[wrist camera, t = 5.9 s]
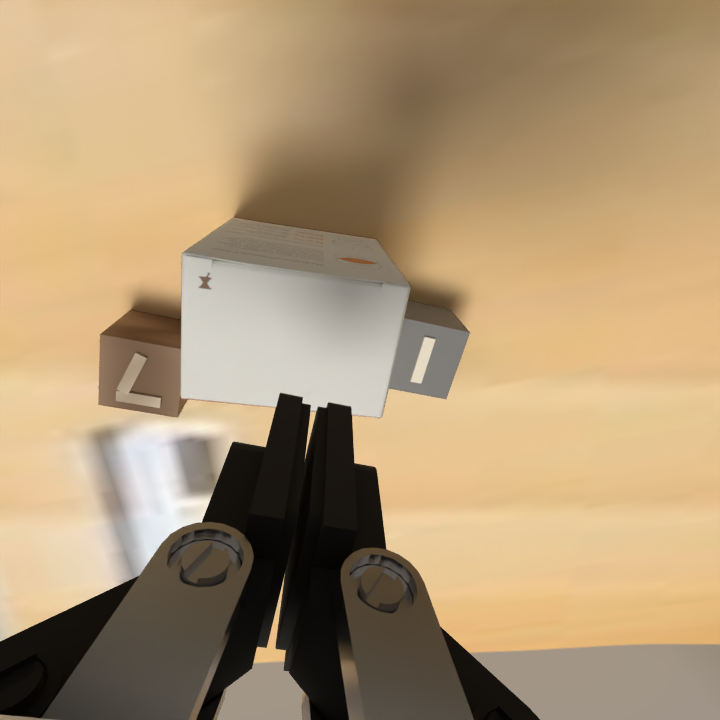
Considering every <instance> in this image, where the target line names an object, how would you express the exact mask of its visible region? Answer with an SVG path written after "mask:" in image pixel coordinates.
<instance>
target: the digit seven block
mask: <svg viewBox="0 0 720 720" xmlns="http://www.w3.org/2000/svg"><path fill="white" fill-rule="evenodd" d="M180 389H181V320H180V319H175V318H169V317H164V316H159V315H154V314H149V313H144V312H139V311H133V310H130V311H129V312H128V313H126V314H125V315H124V316H123V317H121V318H120V319H119V320H118V321H116V322H115V323H114V324H113V325H111V326H110V327H109V328H108V329H106V330H105V331H104V332H103V333H101V334H100V364H99V402H98V405H103V406H109V407H115V408H122V409H128V410H134V411H140V412H146V413H153V414H159V415H165V416H171V417H177V418H178V416H179V414H180V412H181V411H182V409H183V407H184V405H185V403H186V402H187V400H188V399H182V398H181V395H180Z"/></svg>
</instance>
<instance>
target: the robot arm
mask: <svg viewBox="0 0 720 720" xmlns="http://www.w3.org/2000/svg"><path fill="white" fill-rule="evenodd" d="M302 401H303V397H300V396H295V395H290V394H285V393H280V394H279V398H278V402H277V406H276V410H275V414H274V418H273V421H272V425H271V429H270V433H269V437H268V441H267V445H266V447H261V446H255V445H250V444H244V443H239V442H233V443H232V445H231V447H230V450H229V453H228V455H227V458H226V460H225V463H224V466H223V468H222V471H221V474H220V476H219V479H218V481H217V484H216V487H215V489H214V492H213V495H212V497H211V500H210V502H209V505H208V508H207V510H206V513H205V516H204V518H203V521H202V523H195V524H191V525H188V526H185V527H182V528H180V529H179V530H177V531H175V532H173V533H172V534H170V535H169V536H168V538H167V539H166V540H165V541H164V542H163V543H162V544H161V545H160V547H159V548H158V550H157V551H156V553H155V554H154V555H153V557H152V558H151V560H150V561H149V563H148V564H147V566H146V567H145V568H144V570H143V571H142V573H141V574H140V576H138V577H136V578H133V579H131V580H129V581H127V582H125V583H123V584H121V585H119V586H117V587H114V588H112V589H110V590H108V591H106V592H104V593H102V594H100V595H98V596H95V597H93V598H91V599H89V600H87V601H85V602H83V603H81V604H79V605H76V606H74V607H72V608H70V609H68V610H66V611H64V612H62V613H60V614H57V615H55V616H53V617H51V618H49V619H47V620H45V621H43V622H41V623H38V624H36V625H34V626H32V627H30V628H28V629H26V630H24V631H22V632H19V633H17V634H15V635H13V636H11V637H9V638H7V639H5V640H3V641H0V720H217V718H218V715H219V712H220V709H221V706H222V704H223V701H224V698H225V693H226V688H227V687H228V686H229V685H231V684H232V683H233V682H234V681H236V680H237V679H239V678H240V677H241V676H243V675H244V674H245V673H246V672H248V671H249V670H250V669H252V666H253V661H254V657H255V653H256V648H257V647H265V648H266V647H267V644H268V640H269V635H270V631H271V627H272V623H273V619H274V615H275V611H276V607H277V603H278V599H279V595H280V591H281V587H282V583H283V579H284V586H283V594H282V601H281V609H280V616H279V624H278V632H277V639H276V649H281V650H286V655H285V664H284V671H289V673H290V675H291V676H292V677H293V678H294V680H295V681H296V682H297V683H298V685H299V686H300V687H301V688H302V690H303V696H302V720H540V719H539V718H538V717H537V716H536V715H535V714H534V713H533V712H532V711H531V709H530V708H529V707H528V706H527V705H525V704H524V703H523V702H522V701H521V700H520V699H519V698H518V697H516V695H514V694H513V693H512V692H511V691H510V690H509V689H508V688H507V687H506V686H505V685H503V684H502V683H501V682H500V681H499V680H498V679H497V678H496V677H495V676H494V675H493V674H492V673H490V672H489V671H488V670H487V669H486V668H485V667H484V666H483V665H482V664H481V663H480V662H478V661H477V660H476V659H475V658H474V657H473V656H472V655H471V654H470V653H469V652H467V651H466V650H465V649H464V648H463V647H462V646H461V645H460V644H459V643H458V642H457V641H455V640H454V639H453V638H452V637H451V636H450V635H449V634H448V633H447V632H446V631H445V630H443V629H442V628H441V627H440V625H439V622H438V619H437V617H436V614H435V611H434V608H433V606H432V603H431V600H430V597H429V595H428V592H427V589H426V586H425V584H424V581H423V580H422V578H421V576H420V574H419V572H418V571H417V570H416V569H415V568H414V566H413V565H412V564H411V563H410V562H409V561H407V560H406V559H404V558H403V557H402V556H400V555H399V554H396V553H394V552H391V551H389V550H386V543H385V535H384V527H383V518H382V510H381V502H380V493H379V485H378V477H377V471H376V468H375V467H372V466H366V465H361V464H355V463H354V449H353V428H352V409H351V406H346V405H341V404H336V403H330V402H328V404H327V407H326V408H324V407H319V406H318V408H317V412H316V416H315V420H314V424H313V428H312V433H311V437H310V441H309V445H308V449H307V454H306V458H305V452H306V444H307V435H308V427H309V418H310V409H311V405H309V404H304V403H302ZM304 461H305V462H304ZM285 570H286V571H285ZM284 574H285V578H284Z"/></svg>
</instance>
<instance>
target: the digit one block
mask: <svg viewBox="0 0 720 720" xmlns="http://www.w3.org/2000/svg"><path fill="white" fill-rule="evenodd" d="M469 334H470V332H469V331H468V330H467V328H466V327H465V326H464V325H463V324H462V322H461V321H460V320H459V319H458V318H457V317H456V315H455V314H454V313H453V312H452V311H451V310H449V309H445V308H440V307H436V306H431V305H427V304H422V303H418V302H413V301H409V300H408V303H407V307H406V312H405V316H404V321H403V326H402V330H401V335H400V339H399V344H398V349H397V353H396V358H395V362H394V367H393V371H392V376H391V381H390V385H389V388H390V389H395V390H400V391H405V392H411V393H416V394H421V395H427V396H432V397H437V398H442V399H446V398H447V396H448V393H449V390H450V387H451V384H452V382H453V379H454V376H455V373H456V370H457V367H458V365H459V362H460V359H461V356H462V353H463V351H464V348H465V345H466V342H467V339H468V337H469Z"/></svg>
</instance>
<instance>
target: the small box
mask: <svg viewBox="0 0 720 720" xmlns="http://www.w3.org/2000/svg"><path fill="white" fill-rule="evenodd" d="M409 294H410V285H409V283H408V282H407V281H406V279H405V278H404V276H403V275H402V274H401V272H400V271H399V269H398V268H397V267H396V265H395V264H394V263H393V261H392V260H391V259H390V257H389V256H388V254H387V253H386V252H385V250H384V249H383V248H382V246H381V245H380V244H379V242H378V241H377V240H376V239H372V238H364V237H358V236H350V235H344V234H338V233H331V232H324V231H318V230H311V229H304V228H298V227H291V226H285V225H278V224H271V223H265V222H258V221H252V220H245V219H240V218H232V219H230V220H229V221H228V222H226V223H225V224H223V225H222V226H220V227H219V228H217V229H216V230H214V231H213V232H211V233H210V234H209V235H207V236H206V237H205V238H203V239H202V240H200V241H199V242H197V243H196V244H194V245H193V246H191V247H190V248H188V249H187V250H186V251H184V252H183V253H182V276H181V389H180V395H181V398H182V399H190V400H201V401H210V402H220V403H231V404H242V405H252V406H263V407H274V408H276V406H277V402H278V398H279V394H280V393H285V394H290V395H295V396H300V397H303V401H302V403H304V404H309V405H311V409H310V411H314V412H317V408H318V406H319V407H324V408H326V407H327V404H328V402H330V403H336V404H341V405H346V406H351V409H352V415H354V416H364V417H374V418H381V417H382V416H383V412H384V407H385V403H386V398H387V394H388V389H389V385H390V381H391V376H392V371H393V367H394V362H395V358H396V353H397V349H398V344H399V339H400V335H401V330H402V326H403V321H404V316H405V312H406V307H407V303H408V298H409Z"/></svg>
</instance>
